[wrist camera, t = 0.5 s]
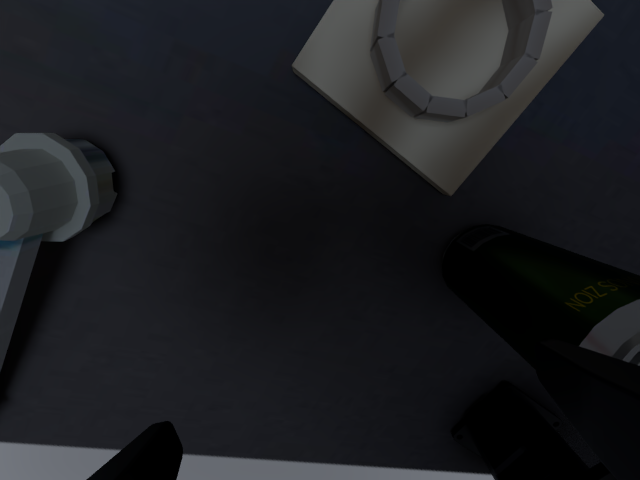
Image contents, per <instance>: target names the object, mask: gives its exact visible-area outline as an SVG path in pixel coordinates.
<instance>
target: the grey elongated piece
mask: <svg viewBox="0 0 640 480" xmlns="http://www.w3.org/2000/svg"><path fill="white" fill-rule="evenodd" d="M112 172H115V170H114V168H113V167H112V165H111V163H110V162H109V160H108V158H107V157H106V155H105V153H104V152H103V151H102V150H100V149H99V148H97V147H96V146H94V145H93V144H91V143H89V142H88V141H86V140H85V139H63V138H62V137H60V136H59V135H57V134H55V133H15V134H14V135H13V136H12V137H11V138H9V139H8V140H7V141H6V142H4V143H3V144H2V145H1V146H0V372H1V369H2V365H3V362H4V359H5V356H6V352H7V349H8V346H9V343H10V339H11V336H12V333H13V330H14V327H15V323H16V320H17V317H18V314H19V310H20V307H21V304H22V301H23V298H24V294H25V291H26V288H27V285H28V281H29V278H30V275H31V272H32V268H33V265H34V262H35V259H36V256H37V252H38V249H39V246H40V243H41V241H56V242H63V241H65V240H68V239H70V238H72V237H74V236H76V235H77V234H79V233H80V232H82V231H83V230H85V229H86V228H88V227H89V226H91V223H92V222H93V221H95V220H96V219H98V218H99V217H101V216H102V215H104V214H105V213H107V212H110V211H111V208H112V206H113V203H114V201H115V199H116V196H117V194H118V193H116V192H114V191H113V181H112Z"/></svg>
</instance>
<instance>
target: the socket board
mask: <svg viewBox="0 0 640 480" xmlns="http://www.w3.org/2000/svg"><path fill="white" fill-rule="evenodd" d="M603 16H604V14H603V13H602V12H601V11H600V10H599V9H598V8H597V7H596V6H595V4H594V3H593V2H592V1H591V0H334V1H333V2H332V4H331V5H330V7H329V8H328V10H327V11H326V13H325V15H324V16H323V18H322V19H321V21H320V22H319V24H318V25H317V27H316V29H315V30H314V32H313V33H312V35H311V36H310V38H309V39H308V41H307V42H306V44H305V46H304V47H303V49H302V50H301V52H300V53H299V55H298V56H297V58H296V60H295V61H294V63H293V64H292V69H293V72H294V73H295V74H296V75H298V76H299V77H300V78H301V79H303V80H304V81H305V82H306V83H307V84H309V85H310V86H311V87H312V88H314V89H315V90H316V91H317V92H318V93H320V94H321V95H322V96H323V97H325V98H326V99H327V100H328V101H330V102H331V103H332V104H333V105H334V106H336V107H337V108H338V109H339V110H341V111H342V112H343V113H344V114H345V115H347V116H348V117H349V118H350V119H352V120H353V121H354V122H355V123H356V124H358V125H359V126H360V127H361V128H363V129H364V130H365V131H366V132H367V133H369V134H370V135H371V136H372V137H374V138H375V139H376V140H377V141H379V142H380V143H381V144H382V145H383V146H385V147H386V148H387V149H388V150H390V151H391V152H392V153H393V154H394V155H396V156H397V157H398V158H399V159H401V160H402V161H403V162H404V163H405V164H407V165H408V166H409V167H410V168H412V169H413V170H414V171H415V172H417V173H418V174H419V175H420V176H421V177H423V178H424V179H425V180H426V181H428V182H429V183H430V184H431V185H432V186H434V187H435V188H436V189H437V190H439V191H440V192H441V193H442V194H445V195H449V196H452V195H453V193H454V192H455V191H456V190H457V189H458V187H459V186H460V185H461V184H462V183H463V182H464V180H465V179H466V178H467V177H468V176H469V174H470V173H471V172H472V171H473V170H474V169H475V167H476V166H477V165H478V164H479V163H480V161H481V160H482V159H483V158H484V157H485V156H486V154H487V153H488V152H489V151H490V150H491V148H492V147H493V146H494V145H495V144H496V143H497V141H498V140H499V139H500V138H501V137H502V135H503V134H504V133H505V132H506V131H507V130H508V128H509V127H510V126H511V125H512V124H513V122H514V121H515V120H516V119H517V118H518V117H519V115H520V114H521V113H522V112H523V111H524V109H525V108H526V107H527V106H528V105H529V104H530V102H531V101H532V100H533V99H534V98H535V96H536V95H537V94H538V93H539V92H540V91H541V89H542V88H543V87H544V86H545V85H546V83H547V82H548V81H549V80H550V79H551V78H552V76H553V75H554V74H555V73H556V72H557V70H558V69H559V68H560V67H561V66H562V65H563V63H564V62H565V61H566V60H567V59H568V57H569V56H570V55H571V54H572V53H573V52H574V50H575V49H576V48H577V47H578V46H579V44H580V43H581V42H582V41H583V40H584V39H585V37H586V36H587V35H588V34H589V33H590V31H591V30H592V29H593V28H594V27H595V26H596V24H597V23H598V22H599V21H600V20H601V18H602V17H603Z"/></svg>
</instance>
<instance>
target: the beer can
mask: <svg viewBox="0 0 640 480" xmlns="http://www.w3.org/2000/svg"><path fill="white" fill-rule="evenodd" d="M442 271H443V278H444V280H445V282H446V284H447V286H448V287H449V288H450V289H451V290H452V291H453V292H454V293H455V294H456V295H457V296H458V297H459V298H460V299H461V300H462V301H463V302H464V303H466V304H467V305H468V306H469V307H470V308H471V309H472V310H473V311H474V312H475V313H476V314H477V315H478V316H479V317H480V318H481V319H482V320H484V321H485V322H486V323H487V324H488V325H489V326H490V327H491V328H492V329H493V330H494V331H495V332H496V333H497V334H498V335H499V336H500V337H502V338H503V339H504V340H505V341H506V342H507V343H508V344H509V345H510V346H511V347H512V348H513V349H514V350H515V351H516V352H517V353H519V354H520V355H521V356H522V357H523V358H524V359H525V360H526V361H527V362H528V363H529V364H530V365H531V366H532V367H533V368H534V369H535V370H536V363H535V351H534V346H535V344H536V343H537V342H539V341H544V340H548V339H558V340H561V341H564V342H567V343H570V344H573V345H576V346H580V347H583V348H586V349H589V350H592V351H595V352H598V353H601V354H604V355H608V356H611V357H614V358H617V359H620V360H623V361H626V362H629V363H633V364H636V365H639V366H640V276H639V275H636V274H633V273H630V272H628V271H625V270H622V269H619V268H616V267H613V266H611V265H608V264H605V263H602V262H599V261H596V260H594V259H591V258H588V257H585V256H582V255H579V254H577V253H574V252H571V251H568V250H565V249H562V248H560V247H557V246H554V245H551V244H548V243H545V242H543V241H540V240H537V239H534V238H531V237H528V236H526V235H523V234H520V233H517V232H514V231H511V230H509V229H506V228H503V227H500V226H494V225H487V224H486V225H481V226H475V227H472V228H469V229H467V230H465V231H463V232H461V233H459V234H458V235H457V236H456V237H455V238H453V239H452V240H451V241H450V243H449V244H448V246H447V248H446V249H445V251H444V255H443V259H442Z"/></svg>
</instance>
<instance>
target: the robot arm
mask: <svg viewBox="0 0 640 480" xmlns="http://www.w3.org/2000/svg"><path fill="white" fill-rule="evenodd" d="M534 351H535V363H536V372H537V376H538V378H539V380H540V382H541V383H542V385H543V386H544V387H545V389H546V390H547V391H548V393H549V394H550V396H551V397H552V398H553V400H554V401H555V402H556V404H557V405H558V406H559V408H560V409H561V410H562V412H563V413H564V414H565V416H566V417H567V418H568V420H569V421H570V422H571V424H572V425H573V426H574V428H575V429H576V430H577V432H578V433H579V434H580V436H581V437H582V438H583V440H584V441H585V442H586V444H587V445H588V446H589V447H590V449H591V450H592V451H593V452H594V454H595V455H596V456H597V457H598V458H599V460H600V461H601V462H600V463H598V464H597V465H595V466H594V467H592V468H589V467H588V466H587V465H586V464H585V463H584V462H583V461H582V460H581V458H580V457H579V456H578V455H577V454H576V453H575V452H574V451H573V449H572V448H571V447H570V446H569V445H568V444H567V443H566V442H565V441H564V439H563V438H562V437H561V436H560V435H559V434H558V433H557V432H556V430H558V429H559V428H560V427H561V426H562V421H561V420H560V419H559V418H558V417H557V416H556V415H555V414H553V413H552V412H550V411H549V410H548V409H546V408H545V407H543V406H542V405H541V404H539V403H538V402H536V401H535V400H533V399H532V398H531V397H529V396H528V395H526V394H525V393H523V392H522V391H521V390H519V389H518V388H516V387H515V386H514V385H512V384H511V383H509V382H504V383H502V384H501V385H500V386H499V387H498V388H497V389H496V390H495V391H493V392H492V393H491V394H490V395H489V396H488V397H487V398H486V399H485V400H484V401H483V402H482V403H481V404H480V405H479V406H478V407H477V408H476V409H474V410H473V411H472V412H471V413H470V414H469V415H468V416H467V417H466V418H465V419H464V420H463V421H462V422H461V423H460V424H459V425H458V426H457V427H456V428H454V429H453V431H452V433H451V434H452V436H453V438H454V440H455V441H456V442H458V443H459V444H461V445H463V446H464V447H466V448H467V449H469V450H471V451H472V452H474V453H475V454H477V455H478V456H480V457H482V458H483V460H484V462H485V463H486V465H487V467H488V469H489V470H490V472H491V474H492V476H493V477H494V479H495V480H640V366H639V365H636V364H633V363H629V362H626V361H623V360H620V359H617V358H614V357H611V356H608V355H604V354H601V353H598V352H595V351H592V350H589V349H586V348H583V347H580V346H576V345H573V344H570V343H567V342H564V341H561V340H558V339H548V340H544V341H539V342H537V343H536V344H535V346H534ZM182 456H183V447H182V444H181V442H180V439H179V437H178V435H177V433H176V431H175V428H174V426H173V424H172V423H171V422H169V421H164V422H160V423H155V424H153V425H151V426H150V427H148V428H147V429H146V430H145V431H144V432H142V433H141V434H140V435H139V436H138V437H137V438H135V439H134V440H133V441H132V442H131V443H129V444H128V445H127V446H126V447H125V448H124V449H122V450H121V451H120V452H119V453H118V454H117V455H115V456H114V457H113V458H112V459H110V460H109V461H108V462H107V463H106V464H105V465H103V466H102V467H101V468H100V469H99V470H97V471H96V472H95V473H94V474H93V475H92V476H91V477H89V478H88V479H87V480H176V479H177V475H178V472H179V468H180V464H181V460H182Z"/></svg>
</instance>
